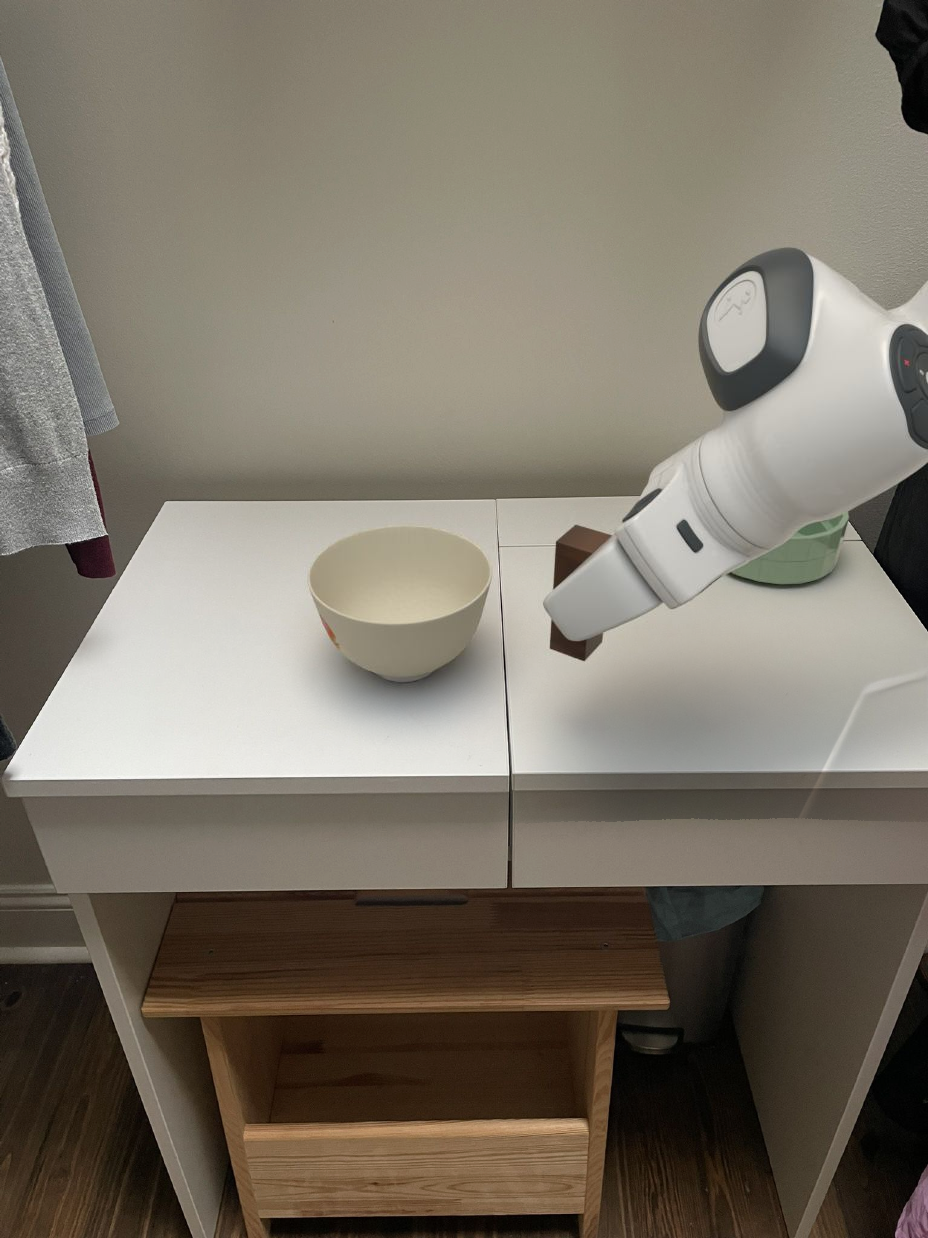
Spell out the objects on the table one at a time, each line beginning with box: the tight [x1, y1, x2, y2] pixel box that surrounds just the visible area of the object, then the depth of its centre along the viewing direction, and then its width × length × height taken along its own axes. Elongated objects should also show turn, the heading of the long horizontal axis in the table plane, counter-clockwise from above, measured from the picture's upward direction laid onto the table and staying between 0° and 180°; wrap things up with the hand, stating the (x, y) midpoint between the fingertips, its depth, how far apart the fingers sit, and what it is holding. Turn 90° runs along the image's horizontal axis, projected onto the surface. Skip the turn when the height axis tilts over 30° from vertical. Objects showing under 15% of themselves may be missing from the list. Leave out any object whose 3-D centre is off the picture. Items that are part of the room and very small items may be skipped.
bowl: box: [306, 524, 493, 683], centre depth 85 cm, size 16×16×10 cm
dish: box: [730, 511, 850, 585], centre depth 102 cm, size 14×14×6 cm
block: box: [549, 524, 613, 662], centre depth 74 cm, size 3×3×10 cm
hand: (573, 587), depth 74 cm, fingers closed on block, 3 cm apart
